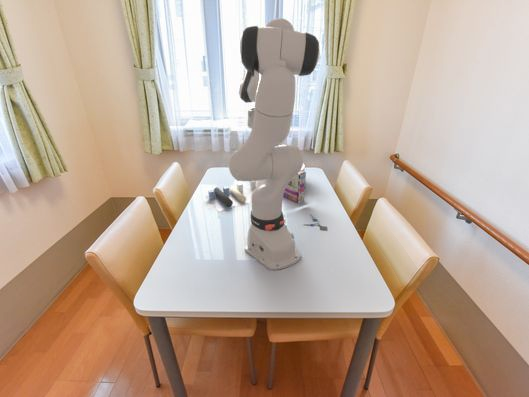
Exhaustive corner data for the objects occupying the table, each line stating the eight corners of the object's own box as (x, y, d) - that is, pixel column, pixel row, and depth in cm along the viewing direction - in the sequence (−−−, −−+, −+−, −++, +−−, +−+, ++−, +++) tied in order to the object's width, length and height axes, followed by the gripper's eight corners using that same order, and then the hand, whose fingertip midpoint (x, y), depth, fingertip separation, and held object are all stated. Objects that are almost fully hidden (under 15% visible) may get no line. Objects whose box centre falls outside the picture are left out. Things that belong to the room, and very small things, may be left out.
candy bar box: (304, 201, 135) (306, 171, 127) (297, 205, 132) (299, 174, 124) (288, 194, 142) (289, 165, 134) (281, 197, 139) (282, 168, 131)
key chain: (330, 230, 113) (330, 228, 113) (315, 235, 110) (315, 234, 109) (311, 215, 124) (311, 213, 124) (296, 219, 121) (296, 218, 120)
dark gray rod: (233, 205, 128) (232, 199, 127) (226, 207, 127) (225, 201, 125) (219, 193, 140) (219, 187, 139) (213, 194, 139) (213, 188, 137)
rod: (246, 201, 133) (246, 195, 131) (240, 203, 131) (240, 197, 130) (234, 191, 143) (233, 185, 142) (228, 192, 142) (228, 187, 140)
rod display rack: (269, 198, 138) (269, 189, 135) (219, 213, 125) (218, 203, 122) (252, 186, 151) (252, 177, 148) (205, 198, 138) (204, 188, 136)
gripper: (251, 109, 116) (252, 140, 123) (289, 105, 126) (287, 134, 132) (244, 107, 121) (245, 137, 127) (281, 103, 130) (280, 131, 137)
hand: (267, 135), depth 130 cm, fingers closed
